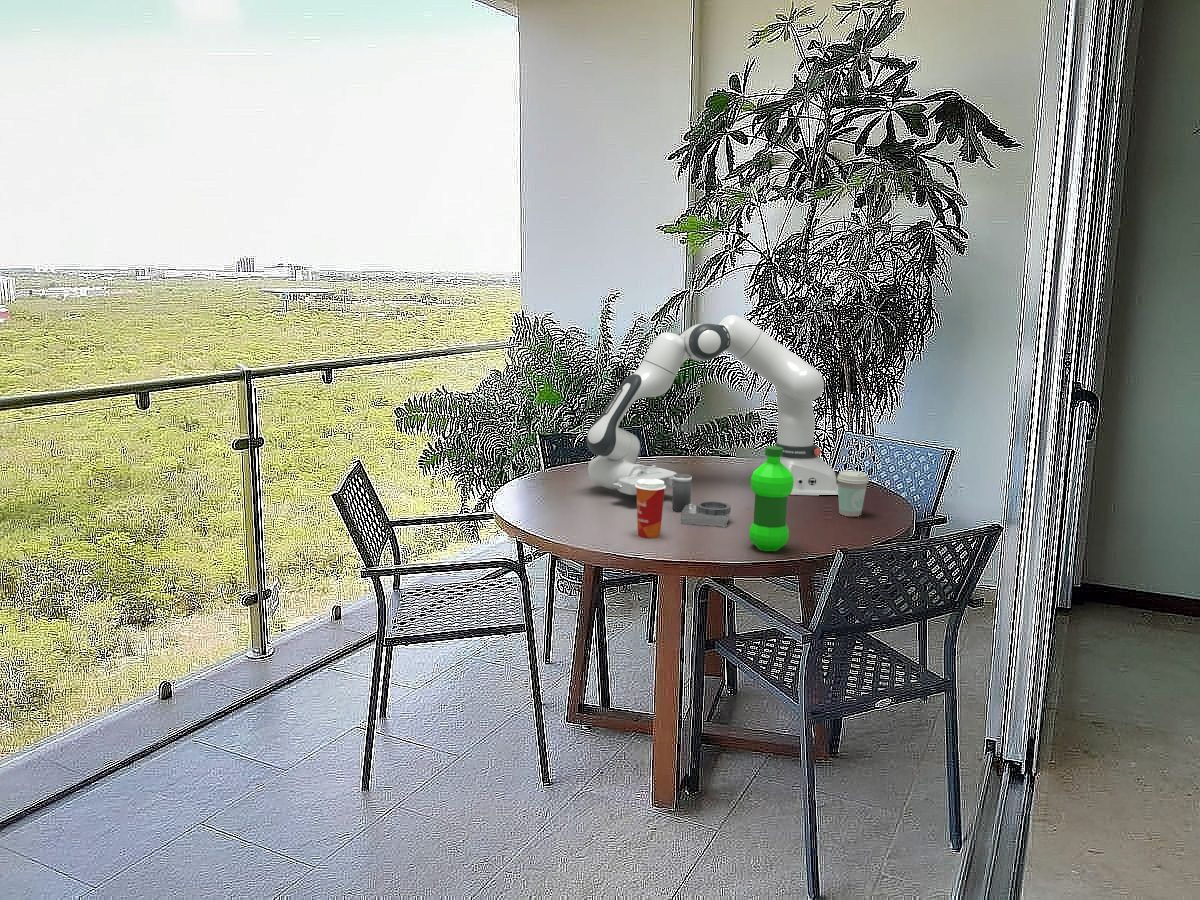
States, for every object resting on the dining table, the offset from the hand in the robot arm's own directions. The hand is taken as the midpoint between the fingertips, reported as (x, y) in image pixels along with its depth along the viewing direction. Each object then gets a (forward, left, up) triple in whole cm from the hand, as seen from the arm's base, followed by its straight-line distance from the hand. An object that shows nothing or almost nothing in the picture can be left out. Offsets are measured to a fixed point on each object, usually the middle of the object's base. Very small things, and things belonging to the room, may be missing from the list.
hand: (669, 487), depth 262 cm
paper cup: (0, +29, -6) cm, 30 cm away
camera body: (-12, +11, -6) cm, 18 cm away
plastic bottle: (-30, +31, -6) cm, 44 cm away
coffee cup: (-50, -8, -6) cm, 51 cm away
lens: (-4, +2, -6) cm, 7 cm away
